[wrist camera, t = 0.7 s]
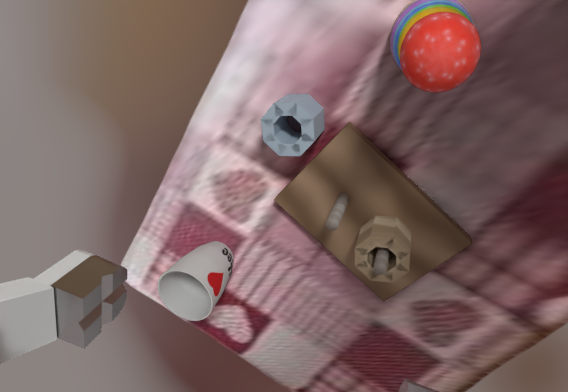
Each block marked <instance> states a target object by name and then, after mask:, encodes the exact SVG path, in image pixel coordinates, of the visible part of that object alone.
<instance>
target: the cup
mask: <svg viewBox="0 0 568 392" xmlns="http://www.w3.org/2000/svg"><path fill="white" fill-rule="evenodd" d="M233 262H234V257H233V254H232V252H231V250H230V249H229V248H228V247H227V246H226V245H225V244H223V243H221V242H217V241H213V242H209V243H207V244H204V245H202V246H199V247H197V248H196V249H194V250H193V251H191V252H190V253H188V254H187V255H185V256H184V257H182V258H181V259H180V260H178V261H177V262H176V263H175V264H174V265H173V266H172V267H170V268H169V269H168V270H167V271H166V272H165V273H163V274H162V275H161V277H160V278H159V281H158V292H159V295H160V298H161V300H162V301H163V303H164V304H165V306H166V307H167V308H168V309H169V310H170V311H171V312H173V313H174V314H175V315H177V316H179V317H181V318H183V319H186V320H190V321H199V320H203V319H205V318H206V317H208V316H209V314H210V313H211V311H212V310H213V308H214V306H215V305H216V303H217V301H218V300H219V298H220V296H221V295H222V293H223V291H224V289H225V287H226V284H227V282H228V280H229V277H230V275H231V271H232V267H233Z"/></svg>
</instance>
